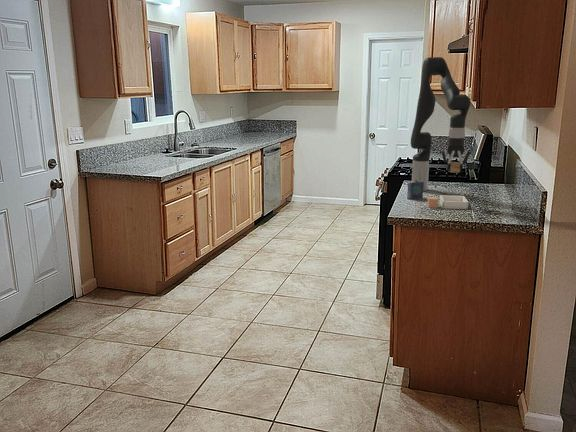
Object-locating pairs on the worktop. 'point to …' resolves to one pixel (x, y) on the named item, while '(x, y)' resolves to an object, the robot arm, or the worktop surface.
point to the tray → (453, 202)
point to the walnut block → (455, 167)
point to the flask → (415, 189)
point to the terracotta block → (432, 202)
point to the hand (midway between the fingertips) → (454, 170)
